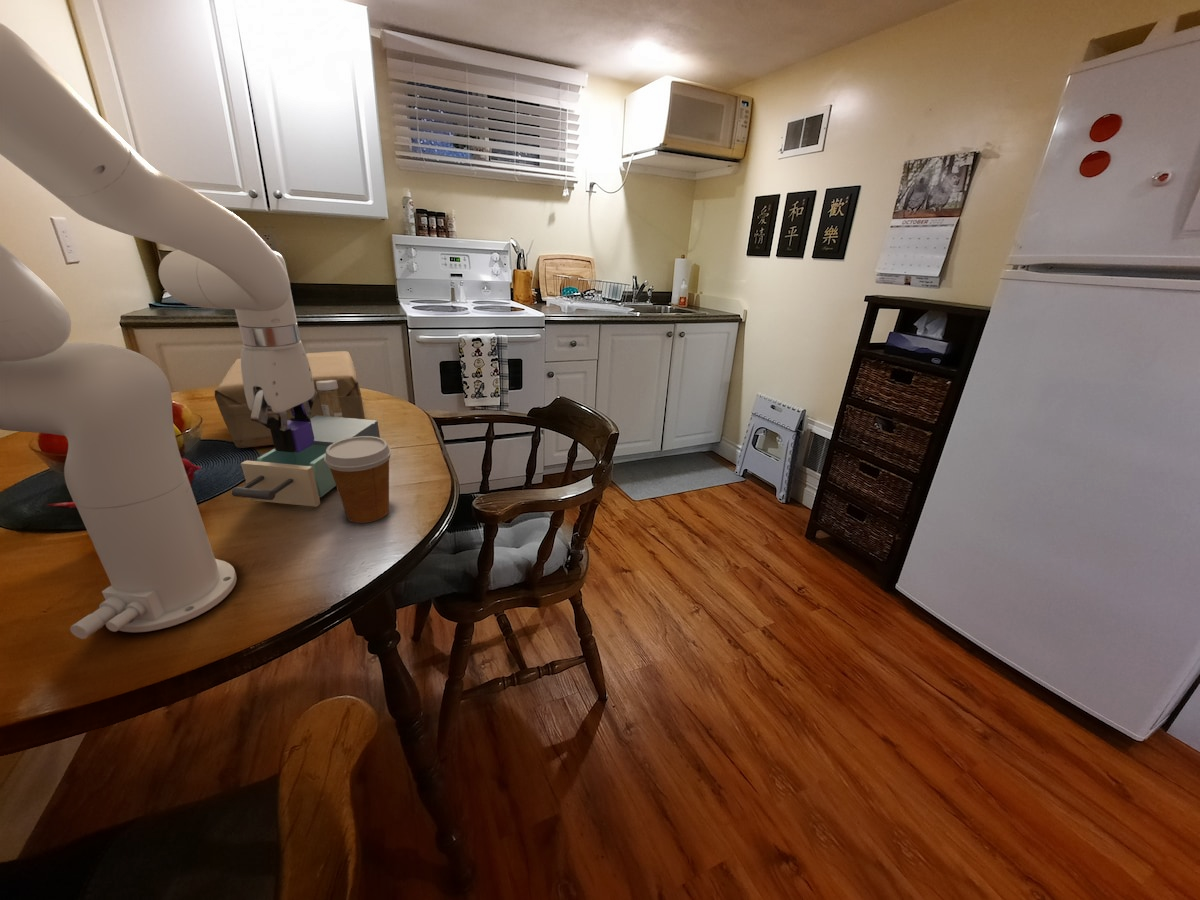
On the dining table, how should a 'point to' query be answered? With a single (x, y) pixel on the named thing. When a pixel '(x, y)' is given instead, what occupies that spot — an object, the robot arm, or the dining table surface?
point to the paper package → (257, 434)
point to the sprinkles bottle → (329, 398)
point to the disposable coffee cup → (361, 476)
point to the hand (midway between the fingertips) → (295, 444)
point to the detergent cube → (301, 434)
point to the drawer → (287, 477)
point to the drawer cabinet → (341, 429)
